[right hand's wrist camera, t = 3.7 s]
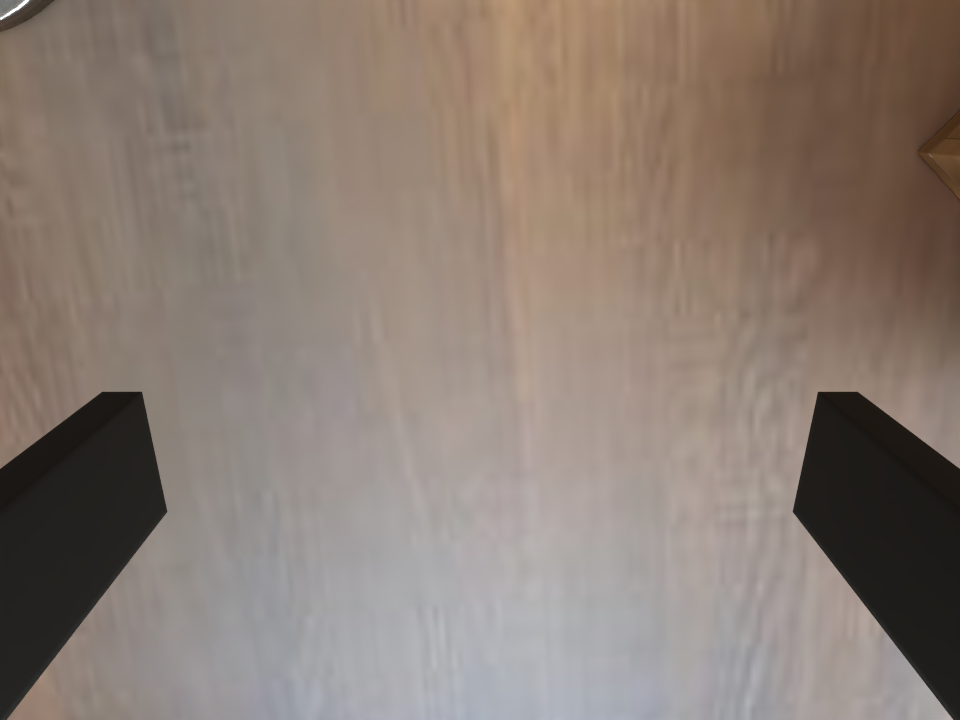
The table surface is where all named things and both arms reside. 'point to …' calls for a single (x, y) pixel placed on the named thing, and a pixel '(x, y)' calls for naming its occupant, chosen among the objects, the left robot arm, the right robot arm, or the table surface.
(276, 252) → the table surface
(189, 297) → the table surface
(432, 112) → the table surface
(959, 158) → the chest
